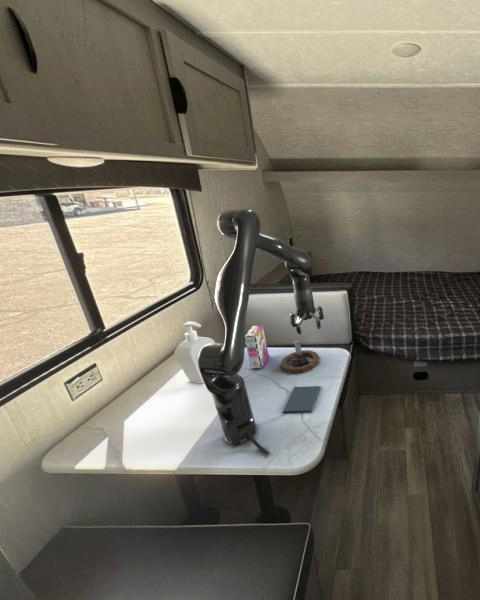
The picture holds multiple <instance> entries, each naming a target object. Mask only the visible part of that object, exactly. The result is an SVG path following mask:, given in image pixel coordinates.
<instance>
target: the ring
mask: <svg viewBox="0 0 480 600" xmlns="http://www.w3.org/2000/svg"><path fill="white" fill-rule="evenodd" d="M301 351H302V357H303V356H305V357H310V358H312V360H311V361H309V364H307V365H304V366H301V367H295V366H291V365H288V364H289V362H292V360H294V359H297V355H296V351H294V352H291V353H289V354H288V355H286V356H284V357H283V358H282V360H281V362H280V365H281V366H280V367H281V368H282V370H283V371H284V372H285V373H288V374H301V373H305V372H308V371H311V370H312V369H314V368H315V367H316V366H318V364H319V361H320V356H319V354H318V353H317V351H313V350H310V349H309V350H308V349H305V350H301Z"/></svg>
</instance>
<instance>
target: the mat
mask: <svg viewBox="0 0 480 600" xmlns="http://www.w3.org/2000/svg"><path fill="white" fill-rule="evenodd" d="M320 389H321V385H312V386H294V388H293V390H292V392H291V394H290V396H289V398H288V400H287V403H286V404H285V407H284V408H283V410H282V412H283V414H293V413H295V414H297V413H312V410H313V408H314V407H315V403H316V400H317V397H318V395H319V392H320Z"/></svg>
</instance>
